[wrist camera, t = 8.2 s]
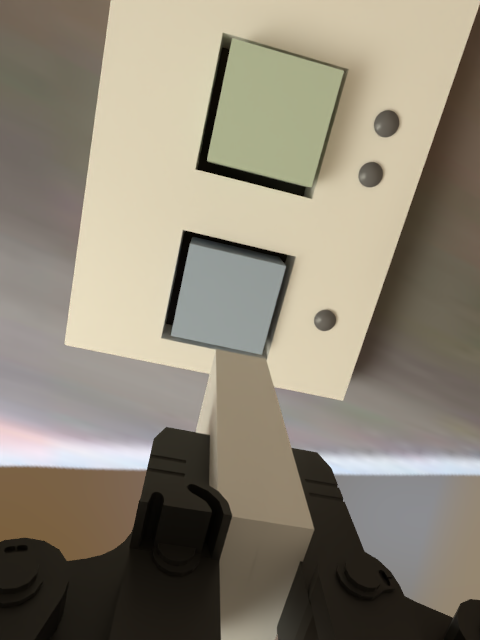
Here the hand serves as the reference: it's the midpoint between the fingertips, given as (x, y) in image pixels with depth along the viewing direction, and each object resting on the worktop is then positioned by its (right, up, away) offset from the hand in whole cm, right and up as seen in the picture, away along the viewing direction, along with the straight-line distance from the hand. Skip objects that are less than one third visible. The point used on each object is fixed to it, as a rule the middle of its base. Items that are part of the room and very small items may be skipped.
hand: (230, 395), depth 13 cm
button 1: (-1, +4, +13) cm, 13 cm away
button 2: (+2, +12, +9) cm, 15 cm away
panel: (+2, +12, +10) cm, 16 cm away
